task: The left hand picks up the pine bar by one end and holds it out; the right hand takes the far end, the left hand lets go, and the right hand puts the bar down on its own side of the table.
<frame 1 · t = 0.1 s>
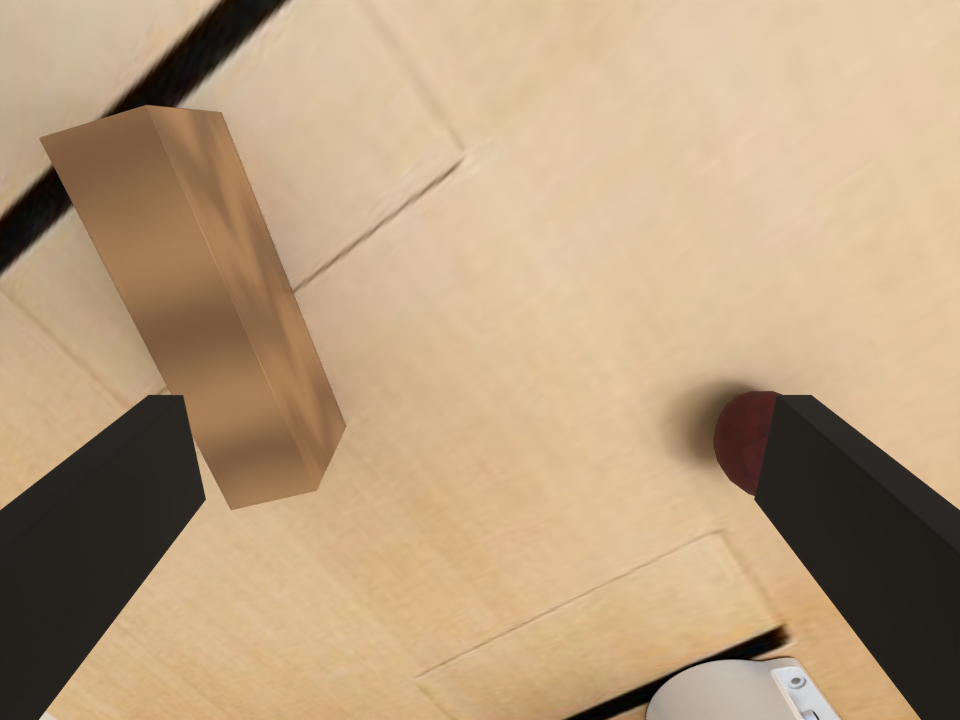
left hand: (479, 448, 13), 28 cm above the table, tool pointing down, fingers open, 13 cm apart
bar: (251, 296, 40), on the table
maroon ball: (745, 418, 44), on the table
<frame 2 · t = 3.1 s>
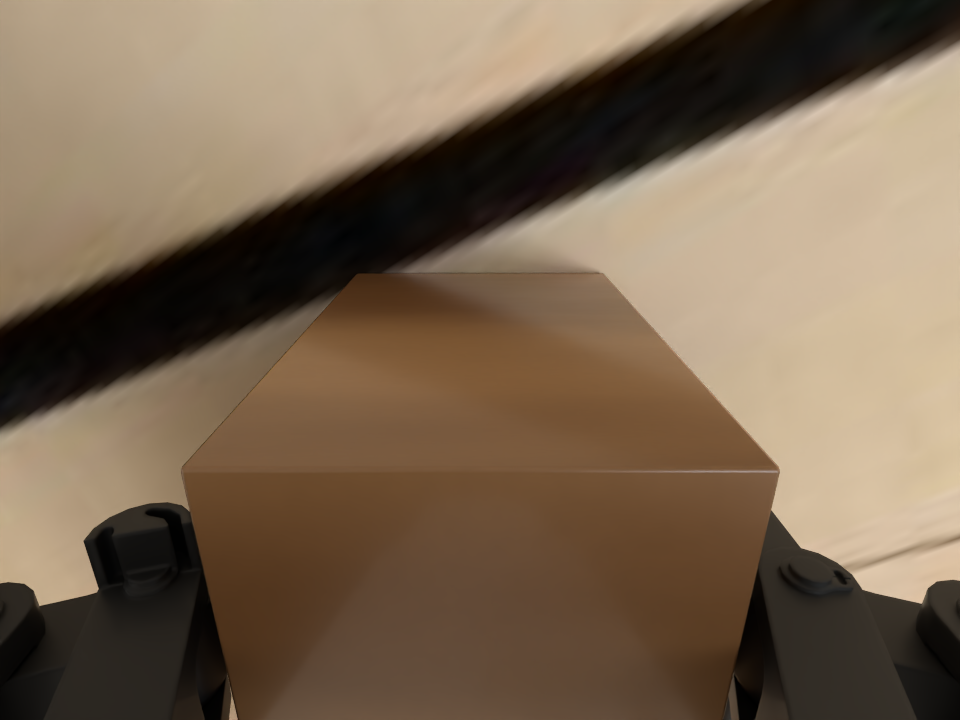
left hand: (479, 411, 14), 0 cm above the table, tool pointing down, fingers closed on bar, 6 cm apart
bar: (480, 635, 18), on the table, touching left hand
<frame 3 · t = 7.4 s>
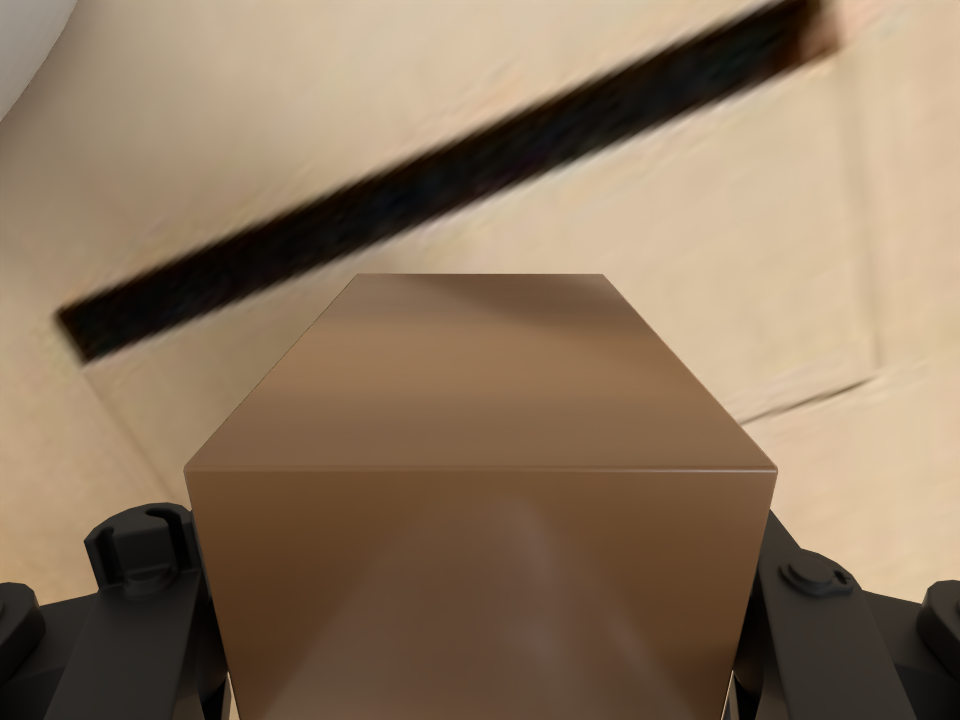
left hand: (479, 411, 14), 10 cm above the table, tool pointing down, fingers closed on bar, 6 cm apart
bar: (479, 635, 18), point 9 cm above the table, touching left hand, right hand
when the left hand's fingers open (10 cm above the table, at t = 8.4 s): bar stays where it is, held by the right hand.
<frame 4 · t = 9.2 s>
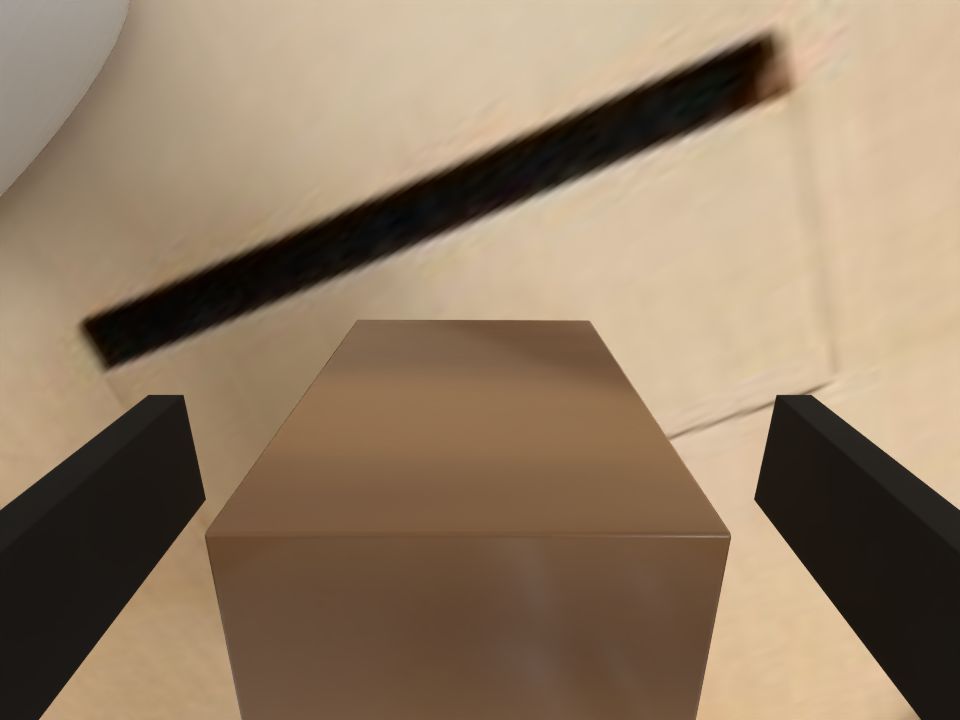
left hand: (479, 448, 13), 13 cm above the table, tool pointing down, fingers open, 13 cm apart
bar: (473, 661, 18), point 11 cm above the table, touching right hand
when the right hand's fingers open (5 cm above the table, at t = 17.6 s): bar stays where it is, on the table.
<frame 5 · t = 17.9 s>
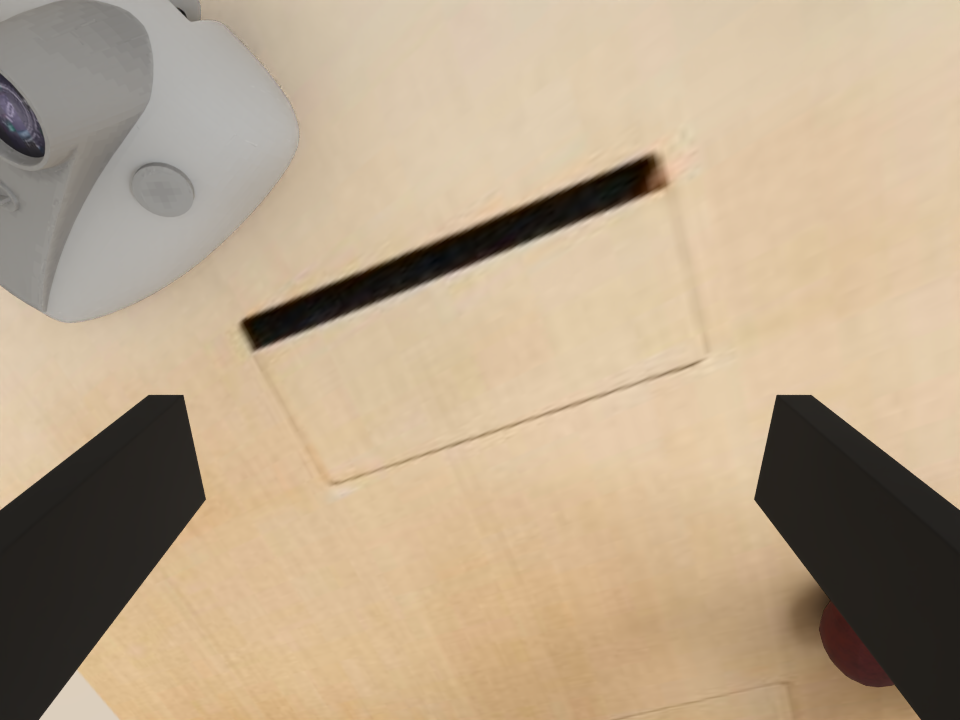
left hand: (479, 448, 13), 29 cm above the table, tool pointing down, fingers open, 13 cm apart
projector: (140, 167, 38), on the table
maroon ball: (842, 602, 51), on the table
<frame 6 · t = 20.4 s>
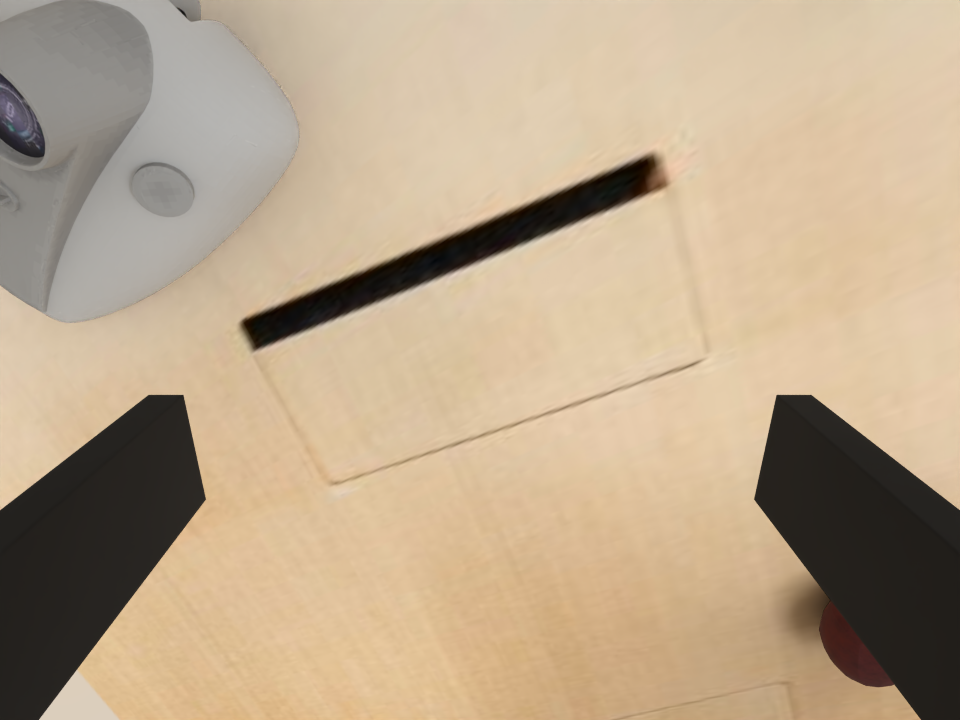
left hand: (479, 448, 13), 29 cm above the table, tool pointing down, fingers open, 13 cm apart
projector: (140, 167, 38), on the table
maroon ball: (842, 602, 51), on the table
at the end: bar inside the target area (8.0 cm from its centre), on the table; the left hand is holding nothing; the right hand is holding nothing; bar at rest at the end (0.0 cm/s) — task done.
